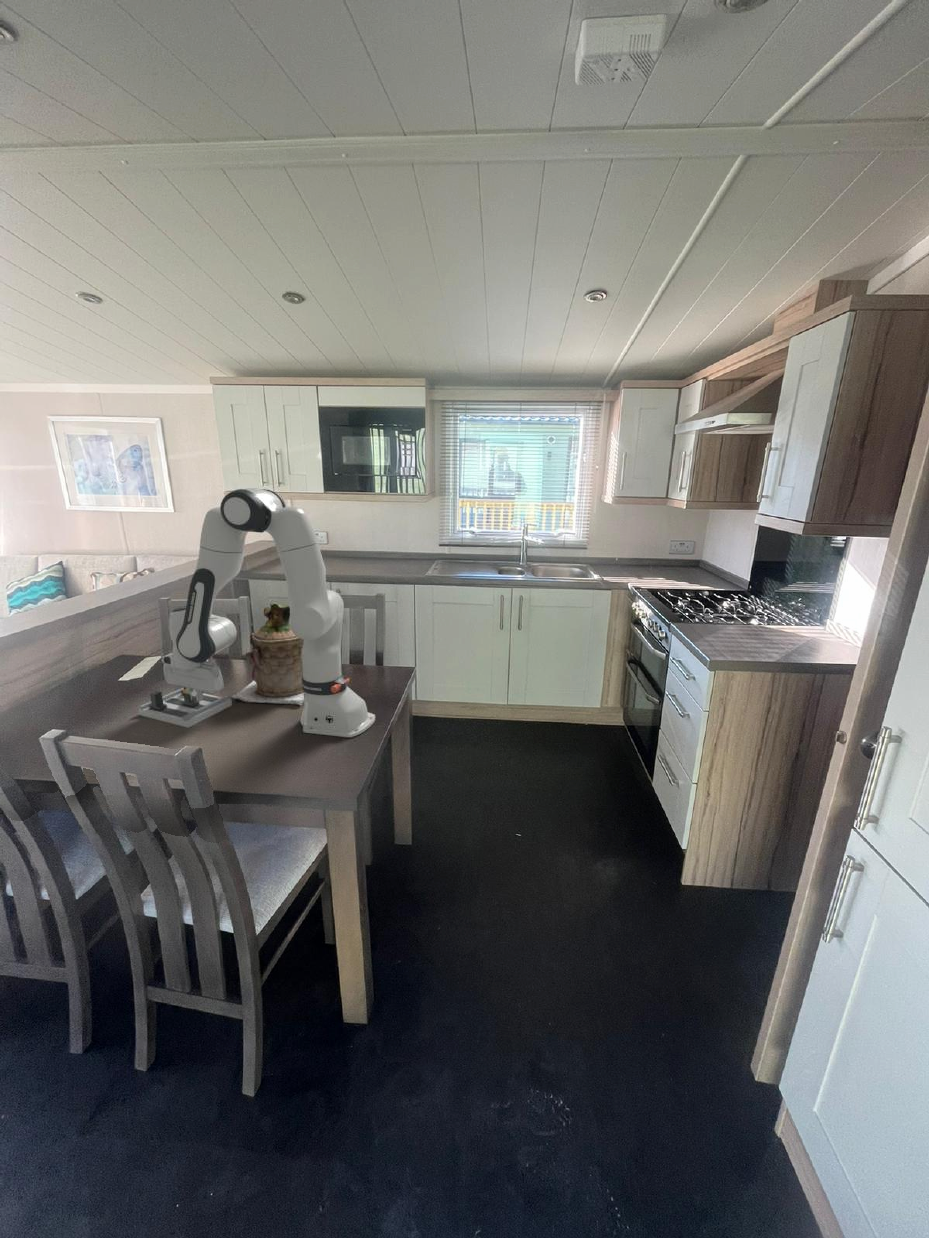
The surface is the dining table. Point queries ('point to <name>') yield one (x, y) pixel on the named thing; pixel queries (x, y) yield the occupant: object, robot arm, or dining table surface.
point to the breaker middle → (188, 699)
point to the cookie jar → (275, 661)
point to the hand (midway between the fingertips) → (196, 700)
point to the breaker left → (157, 701)
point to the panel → (185, 709)
